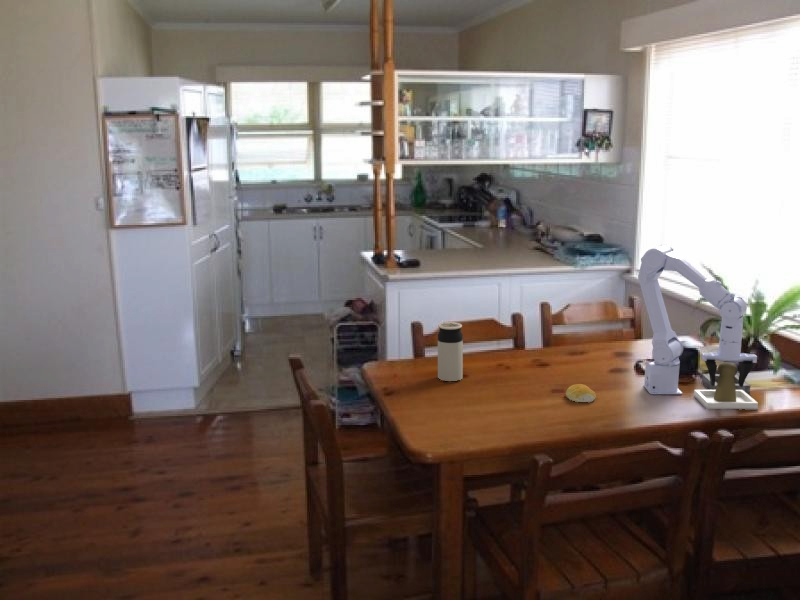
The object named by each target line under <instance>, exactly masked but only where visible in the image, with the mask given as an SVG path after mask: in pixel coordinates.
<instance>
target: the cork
mask: <svg viewBox="0 0 800 600" xmlns="http://www.w3.org/2000/svg"><path fill="white" fill-rule="evenodd" d="M717 373H719V379H718V383H717V387H716V391H715V396H714V400H716V401H718V402H736V387H735V375H736V374H737V373H738V366H737V365H736V364H735V363H732V362H720V363H719V365H717ZM737 375H738V374H737Z"/></svg>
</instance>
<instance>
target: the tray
mask: <svg viewBox="0 0 800 600" xmlns="http://www.w3.org/2000/svg"><path fill="white" fill-rule="evenodd" d="M715 391H716V390H710V389H694V391H693V397H694V398H695V399H696V400H697V401H698V402H699V403H700V405H702V406H703V407H704V409H706V410H707V411H709V410H710V411H713V410H715V409H723V410H722V411H726V410H727V411H729V410H730V411H732V409H739V410H738V411H740V410H741V411H743V410H742V409H745V410H744V411H746V410H748V411H749V410H750V411H751V410H752V411H754V410H755V411H758V409H759V402H758V401H757V400H755V399H754V398H753V397H752V396H751V395H750V394H749V393H746V392H745V391H743V390H736V402H718V401H716V400H714V396H715Z"/></svg>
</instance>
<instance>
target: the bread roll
mask: <svg viewBox="0 0 800 600" xmlns="http://www.w3.org/2000/svg"><path fill="white" fill-rule="evenodd" d="M565 396H566V398H567V399H569V401H571V400H572V401H571V402H573V401H575V402H574V403H578V402H588V403H592V402H593V401H594V400H595V399H596V397H597V395H596V392H595V391H594V390H593V389H591V388H590V387H589V386H587V385H586V384H582V383H576V384H572V385H570V386H569V387H568V388H567V389H566V391H565Z"/></svg>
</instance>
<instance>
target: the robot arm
mask: <svg viewBox="0 0 800 600" xmlns="http://www.w3.org/2000/svg"><path fill="white" fill-rule="evenodd" d="M640 262H641V263H640V267H639V271H638V277H637V278H638V282H639V283H638V284H639V286H640V291H641V293H642V297H643V301H644V304H645V308H646V312H647V314H648V318H649V322H650V325H651V329H652V333H653V336H652V340H651V345H652V351H651V357H652V358H653V361H650V362H649V361H647V362H646V364H645V367H644V383H643V386H644V389H646V390H647V392H648V393H649V394H650V395H682V394H683V392H682V391H681V390H680V389H679V378H680V377H679V375H680V366H681V364H680V363H681V361H680V359H679V358H680V357H681V356H682V354H683V352H684V346H683V343H682V341H680V340H679V338H678V336H677V333H676V332H675V330H673V328H672V325H671V322H670V319H669V314H668V311H667V308H666V305H665V300H664V298H663V294H662V290H661V286H660V284H659V278H660V276H661V274H662V273H663V272H664V271H668V272H669V271H670V272H671V271H672V272H677V273H678V274H680V275H681V276H682V277H683V278H685V280H688V282H690V283H691V284H693V285H694V286H695V287H696V288H698V290H699V295H700V296H701V297H702V298H703V299H704V300H706V301H707V302H708V303H710V304H711V306H713V307H714V308H715V309H716V310H718V312H719V315H720V317H721V323H720V330H719V331H720V332H719V342H718V351H712V352H701V361H702V362H704V364H705V365H706V368H707V371H708V374H709V375H710V384H711V385H712V386H715V374H717V370H718V365H717V362H736V363H737V362H738V363H739V373H738V376H739V380H738V385H739V386H740V387H743V384H744V381H746V379H747V377H748V375H749V373H750V372H751V371H752V369H753V368H754V364H757V362H758V361H757V360H758V356H757V355H756V354H753V353H744V352H741V349H742V339H743V328H744V327H743V326H744V323H743V322H744V314H745V313H746V312H747V307H748V306H747V303H746V300H744V299H743V297H741V296H739V295H738V296H736V294H735V293H734V292H730V291H729V290H727V288H725V287H724V286H723V283H722V282H721V280H717V281H716V280H715V279H707V278H706V277H705V276H704V275H703V274H702V273H701V272H700V271H699V270H698V269H696V267H694V266H693V265H692V264H691V263H690V262H689V261H688V260H687V259H686V258H684V257H683V255H682V254H681V253H680V252H678V251H677V250H674V248H673V247H672V246H671V245H668V244H661V245H658V246H657V247H654V248H650V249H648V250H647V251H646V252H645V253H644V254H643V255H642V256H641V258H640Z"/></svg>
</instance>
